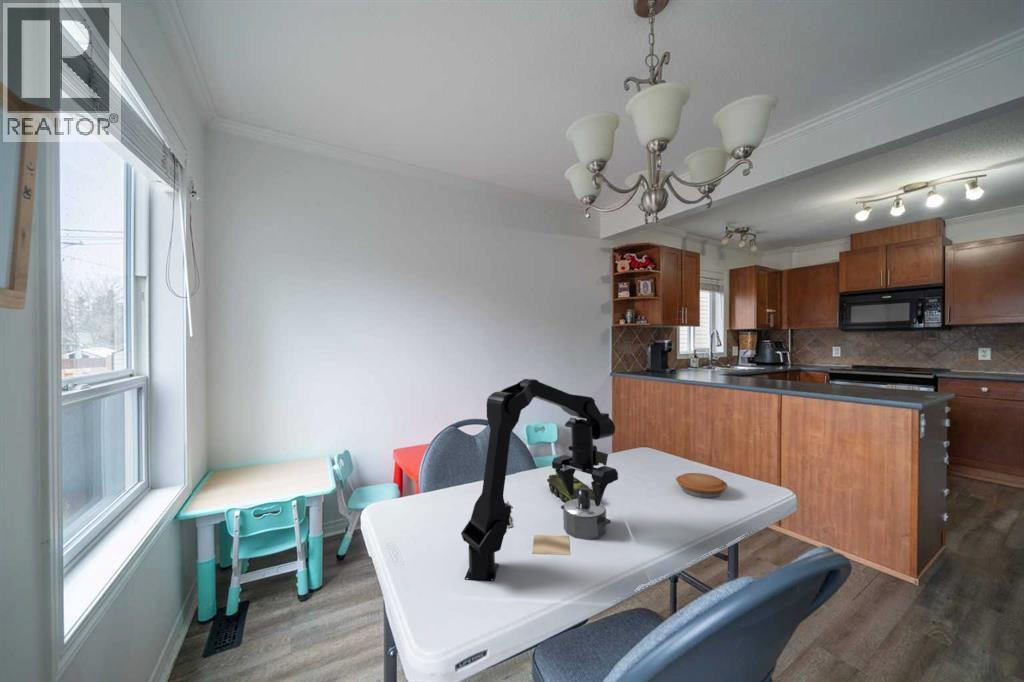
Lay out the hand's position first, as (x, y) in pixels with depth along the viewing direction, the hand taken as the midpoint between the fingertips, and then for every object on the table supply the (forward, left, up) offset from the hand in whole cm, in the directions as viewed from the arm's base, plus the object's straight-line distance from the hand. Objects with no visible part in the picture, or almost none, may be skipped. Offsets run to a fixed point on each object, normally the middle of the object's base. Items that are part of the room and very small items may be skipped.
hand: (584, 500), depth 99 cm
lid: (0, 0, -3) cm, 3 cm away
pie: (+30, -41, -9) cm, 52 cm away
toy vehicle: (+24, +3, -9) cm, 26 cm away
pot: (0, 0, -8) cm, 8 cm away
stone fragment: (+8, +25, -9) cm, 28 cm away
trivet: (-8, +9, -8) cm, 15 cm away
